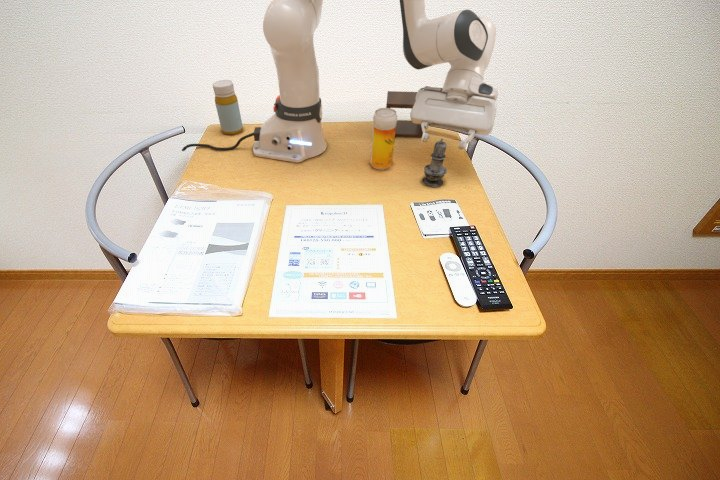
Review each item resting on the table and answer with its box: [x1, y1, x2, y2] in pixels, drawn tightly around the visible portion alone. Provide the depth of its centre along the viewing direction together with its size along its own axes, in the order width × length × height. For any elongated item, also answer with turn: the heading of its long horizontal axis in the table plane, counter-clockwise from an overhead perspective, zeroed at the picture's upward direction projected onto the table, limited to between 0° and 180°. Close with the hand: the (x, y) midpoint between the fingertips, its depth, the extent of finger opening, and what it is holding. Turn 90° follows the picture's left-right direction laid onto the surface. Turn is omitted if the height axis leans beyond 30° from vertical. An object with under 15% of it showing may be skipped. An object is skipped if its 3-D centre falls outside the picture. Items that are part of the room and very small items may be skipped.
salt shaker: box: [422, 138, 448, 188], centre depth 92 cm, size 6×6×12 cm
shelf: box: [385, 90, 423, 138], centre depth 114 cm, size 12×10×10 cm
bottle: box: [212, 79, 244, 136], centre depth 116 cm, size 7×7×15 cm
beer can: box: [369, 107, 398, 171], centre depth 98 cm, size 6×6×15 cm
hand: (442, 145), depth 91 cm, fingers open, 8 cm apart
